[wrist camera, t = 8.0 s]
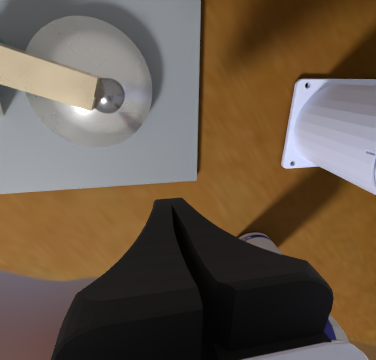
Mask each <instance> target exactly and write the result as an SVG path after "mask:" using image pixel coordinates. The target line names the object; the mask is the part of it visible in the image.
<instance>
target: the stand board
mask: <svg viewBox="0 0 376 360" xmlns="http://www.w3.org/2000/svg"><path fill="white" fill-rule="evenodd" d="M67 16H87V17H93V18H96V19H99V20H102V21H105V22H107V23H109V24H111V25H113V26H114V27H116V28H117V29H119V30H120V31H122V32H123V33H124V34H125V35H126V36H128V37H129V38H130V39H131V41H132V42H133V43H134V44H135V45H136V46H137V48H138V49H139V50H140V52H141V54H142V56H143V57H144V59H145V61H146V64H147V66H148V69H149V72H150V75H151V81H152V102H151V107H150V110H149V113H148V115H147V117H146V119H145V121H144V123H143V124H142V126H141V127H140V128H139V129H138V130H137V131H136V132H135V133H134V134H133V135H132V136H131V137H129V138H128V139H126V140H124V141H122V142H120V143H118V144H115V145H112V146H106V147H87V146H82V145H78V144H75V143H72V142H70V141H68V140H65V139H64V138H62V137H60V136H58V135H57V134H56V133H54V132H53V131H51V130H50V129H49V128H48V127H47V126H46V125H45V124H44V123H43V122H42V121H41V120H40V119H39V117H38V116H37V115H36V113H35V112H34V110H33V109H32V107H31V105H30V103H29V101H28V98H27V96H26V93H25V91H21V90H18V89H15V88H11V87H8V86H4V85H1V84H0V98H1V99H0V103H1V107H2V110H3V114H4V116H2V117H0V194H7V193H22V192H36V191H51V190H65V189H80V188H94V187H109V186H123V185H138V184H152V183H167V182H181V181H196V180H197V145H198V103H199V60H200V18H201V0H0V39H1V40H2V41H3V42H5V43H6V44H7V45H9V46H12V47H15V48H18V49H21V50H24V51H26V48H27V46H28V44H29V43H30V41H31V39H32V38H33V37H34V35H35V34H36V33H37V32H38V31H39V30H40V29H41V28H42V27H44V26H45V25H47V24H48V23H50V22H52V21H54V20H56V19H59V18H63V17H67Z"/></svg>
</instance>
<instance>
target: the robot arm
mask: <svg viewBox="0 0 376 360" xmlns="http://www.w3.org/2000/svg"><path fill="white" fill-rule="evenodd" d="M306 83H308V86H307V87H306V88H305V84H306ZM292 161H293V163H292V164H291V165H290V163H291V162H292ZM281 165H282V166H283V167H284V168H302V167H318V166H319V167H321V168H323V169H325V170H327V171H329V172H331V173H333V174H335V175H337V176H339V177H341V178H343V179H345V180H347V181H349V182H351V183H353V184H355V185H357V186H359V187H361V188H363V189H365V190H367V191H369V192H371V193H373V194H375V195H376V79H299V80H297V82H296V83H295V87H294V93H293V99H292V104H291V110H290V116H289V122H288V128H287V133H286V139H285V145H284V151H283V156H282V162H281ZM332 304H333V292H332V289H331V288H330V286H329V285H328V283H327V282H326V281H325V280H324V279H323V278H322V277H321V276H320V275H319V273H318V272H317V271H316V270H315V269H314V268H313V267H312V266H311V265H310V264H309V263H308V262H307V261H305V260H301V259H297V258H293V257H289V256H285V255H282V254H278V253H275V252H272V251H269V250H266V249H263V248H260V247H258V246H255V245H252V244H250V243H248V242H246V241H243V240H241V239H239V238H237V237H235V236H233V235H231V234H229V233H228V232H226V231H224V230H222V229H221V228H219V227H217V226H216V225H214V224H213V223H211V222H210V221H209V220H207V219H206V218H205V217H203V216H202V215H201V214H200V213H198V212H197V211H196V210H195V209H194V208H193V207H191V206H190V205H189V204H188V203H187V202H186V201H185V200H184V199H183V198H171V199H159V200H155V201H154V205H153V209H152V212H151V214H150V217H149V219H148V221H147V223H146V225H145V227H144V228H143V230H142V232H141V233H140V235H139V236H138V238H137V239H136V241H135V242H134V243H133V245H132V246H131V247H130V249H129V250H128V251H127V252H126V253H125V254H124V255H123V257H122V258H121V259H120V260H119V261H118V262H117V263H116V264H115V265H114V266H112V267H111V268H110V269H109V270H108V271H107V272H106V273H105V274H103V275H102V276H101V277H99V278H98V279H97V280H95V281H94V282H93V283H91V284H90V285H88V286H87V287H86V288H84V289H83V290H82V291H80V292H78V293H77V294H76V296H75V298H74V300H73V301H72V304H71V306H70V308H69V310H68V312H67V314H66V316H65V318H64V321H63V323H62V326H61V328H60V331H59V335H58V338H57V341H56V345H55V348H54V351H53V355H52V358H51V360H369V359H368V358H367V357H366V356H365V354H364V353H363V352H362V351H360V350H359V349H358V348H356V347H355V346H354V345H353V344H349V343H345V342H332V341H331V340H330V339H329V337H328V336H327V334H326V333H325V332H324V329H325V326H326V323H327V321H328V318H329V315H330V312H331V309H332Z"/></svg>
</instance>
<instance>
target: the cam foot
mask: <svg viewBox="0 0 376 360" xmlns="http://www.w3.org/2000/svg"><path fill="white" fill-rule="evenodd" d="M0 84H1V85H4V86H8V87H11V88H15V89H18V90H21V91H25V93H26V96H27V98H28V101H29V103H30V105H31V107H32V109H33V110H34V112H35V113H36V115H37V116H38V117H39V119H40V120H41V121H42V122H43V123H44V124H45V125H46V126H47V127H48V128H49V129H50V130H51V131H53V132H54V133H56V134H57V135H58V136H60V137H62V138H64V139H65V140H68V141H70V142H72V143H75V144H78V145H82V146H87V147H106V146H112V145H115V144H118V143H120V142H122V141H124V140H126V139H128V138H129V137H131V136H132V135H133V134H134V133H135V132H136V131H137V130H138V129H139V128H140V127H141V126H142V124H143V123H144V121H145V119H146V117H147V115H148V113H149V110H150V107H151V102H152V81H151V75H150V72H149V69H148V66H147V64H146V61H145V59H144V57H143V56H142V54H141V52H140V50H139V49H138V48H137V46H136V45H135V44H134V43H133V42H132V41H131V39H130V38H129V37H128V36H126V35H125V34H124V33H123V32H122V31H120V30H119V29H117V28H116V27H114V26H113V25H111V24H109V23H107V22H105V21H102V20H99V19H96V18H93V17H87V16H67V17H63V18H59V19H56V20H54V21H52V22H50V23H48V24H47V25H45V26H44V27H42V28H41V29H40V30H39V31H38V32H37V33H36V34H35V35H34V37H33V38H32V39H31V41H30V43H29V44H28V46H27V48H26V51H24V50H21V49H18V48H15V47H12V46H9V45H7V44H6V43H5V42H3V41H2V40H1V39H0Z"/></svg>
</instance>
